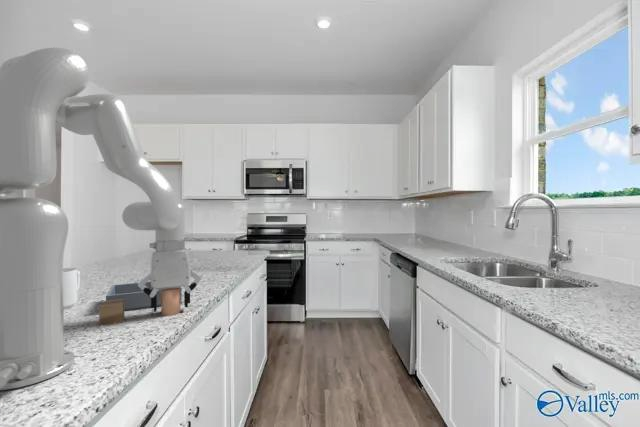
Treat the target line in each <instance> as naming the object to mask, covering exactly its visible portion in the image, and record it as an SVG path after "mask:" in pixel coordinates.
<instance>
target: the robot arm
mask: <svg viewBox="0 0 640 427" xmlns="http://www.w3.org/2000/svg"><path fill="white" fill-rule="evenodd" d="M89 80H90V71H89V66H88V65H87V63H86V61H85V59H84V58H83V57H82V56H80V54H78V53H77V52H74V51H72V50H69V49H66V48H64V47H63V48H62V47H47V48H46V47H45V48H41V49H37V50H34V51H31V52H28V53H26V54H24V55H19V56H15V57H11V58H9V59H7V60H6V61H4V62H3V63H2V64H1V65H0V391H7V390H12V389H14V390H15V389H18V388H23V387H26V386H27V387H28V386H31V385H34V384H37V383H41V382H42V381H46V380H48V379H51V378H53V377H55V376H57V375H59V374H61V373H63V372H65V371H66V370H68V369H69V368H70V367H71V366H72V365H74V362H75V354H74V352H72V351H69V350H65V333H64V331H65V327H64V326H65V323H64V322H65V321H64V318H65V317H64V316H65V315H64V309H63V268H64V267H63V266H64V254H65V253H64V252H65V248H66V243H67V238H68V234H69V220H68V217H67V214H66V213H65V211H64V210H63V209H62V207H60V206H59V205H57V203H55V202H53V201H50V200H47V199H45V198H39V197H32V196H31V197H29V196H28V197H27V196H26V197H24V191H27V190H39V189H42V188H44V187H48V186H49V185H50V184H51V183H53V182H54V180H55V179H56V175H57V171H58V170H57V168H58V167H57V166H58V165H57V163H58V162H57V161H58V160H57V145H56V144H57V143H56V142H57V140H56V124H57V125H58V126H60V127H62V128H63V129H65V130H67V131H69V132H72V133H74V134H77V135H81V136H89V135H90V136H91V135H92V137H93V139H94V141H95V143H96V145H97V148H98V150H99V152H100V155H101V157H102V159H103V162H104V164H105V167H106V168H107V169H108V170H109V171H110V172H112V173H114V174H115V175H117V176H119V177H121V178H124V179H126V180H128V181H129V182H131V183H133V184H135V185H136V186H137V187H138V188H140V189H141V190H142V191H143V192H144V193H145V194H146V196H147V197H148V199H149V201H136V202H132V203H130V204H128V205H127V206H125V208H124V209H123V211H122V215H121V217H122V218H121V219H122V221H123V223H124V224H125V226H126V227H128V228H129V229H132V230H135V231H154V232H155V235H154V236H155V241H154V242H150V243H149V249H154V251H153V252H152V255H151V260H150V270H149V271H150V273H149V274H148V275H146V276H145V277H144V278H143V279H141V280H140V281H139V282H137V283H138V286H139V287H140V288H141V289H142V290H143V291H144V292H145V293H146V294H147V295H149V296H150V297H151V308H150V309H153V312H154V313H156V312H157V311H158V310H157V309H158V307H157V295H156V293H157V291H158V289H162V288H171V287H180V286H181V287H183V288H184V292H183V295H184V296H183V297H184V298H183V300H184V302H183V304H184V307H185V308H188V307H189V306H188V305H189V304H191V293H192V292H193V290H195V288H196V287H197V285H198V284H199V283H200V282H201V280H202V277H201V276H200V275H199V274H197V273H195V272H193V271H192V270H191V265H190V264H191V263H190V256H189V254H190V253H189V250H188V249H186V248H185V247H186V246H185V245H186V244H185V243H186V241H185V240H186V239H185V238H186V236H185V230H186V228H185V207H184V204H183V203H179V201H178V198H177V194H176V193H175V190H174V189H173V186H172V184H171V183H170V182H169V181H168V180H167V178H166V177H165V176H164V175H163V174H162V173H161V171H159V170H158V169H157V168H156V167H155V166H154V165H152V164H151V163H150V161H149V160H147V158H146V156H145V153H144V151H143V149H142V145H141V143H140V139H139V137H138V134H137V132H136V130H135V129H136V128H135V126H134V123H133V121H132V118H131V116H130V113H129V110H128V108H127V106H126V104H125V102H123V101H122V99H120V98H119V97H117V96H114V95H112V94H107V93H106V94H105V93H104V94H103V93H99V94H98V93H96V94H89V95H82V96H79V94H80V93H82V92H83V91H84V90H85V89H86V88H87V86H88V85H89ZM191 278H192V279H194V280H193V281H192V282H191ZM149 281H150V284H151V287H152V290H151V289H149V288H148V287H147V286H146V285H145V283H147V282H149ZM190 283H191V284H190Z"/></svg>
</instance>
